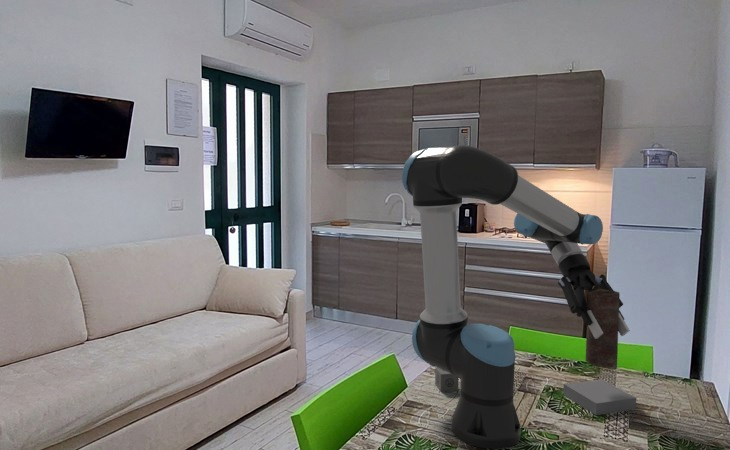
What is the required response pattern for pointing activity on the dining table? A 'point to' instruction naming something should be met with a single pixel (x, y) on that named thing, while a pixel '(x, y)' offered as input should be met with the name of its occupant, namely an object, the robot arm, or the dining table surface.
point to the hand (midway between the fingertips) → (612, 334)
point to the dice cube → (445, 380)
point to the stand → (599, 397)
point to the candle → (603, 329)
